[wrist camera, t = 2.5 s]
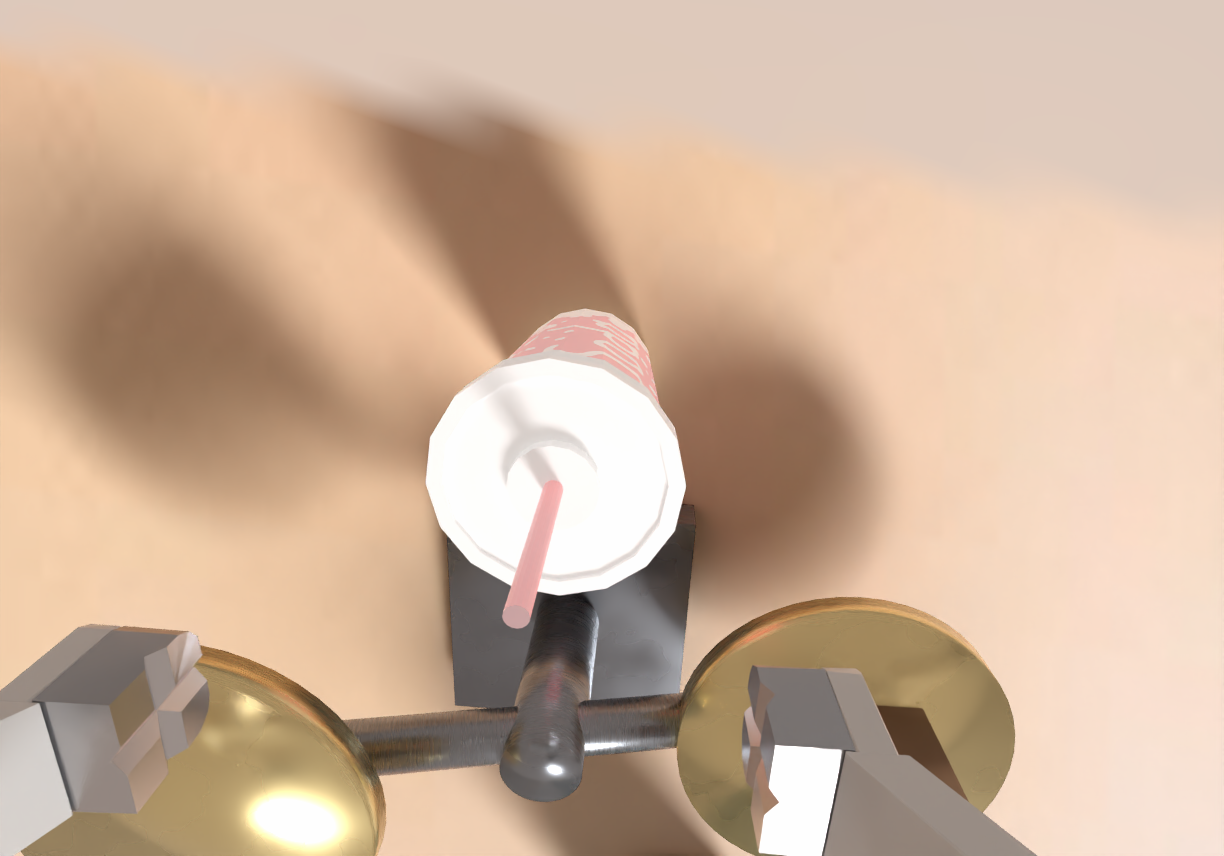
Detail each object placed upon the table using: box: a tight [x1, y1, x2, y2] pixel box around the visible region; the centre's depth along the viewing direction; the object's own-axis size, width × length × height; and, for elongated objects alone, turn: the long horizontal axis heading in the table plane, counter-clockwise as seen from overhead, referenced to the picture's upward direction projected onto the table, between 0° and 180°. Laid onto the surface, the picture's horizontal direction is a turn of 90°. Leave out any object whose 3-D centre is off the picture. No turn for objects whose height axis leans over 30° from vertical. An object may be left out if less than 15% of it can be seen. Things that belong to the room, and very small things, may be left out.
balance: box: [21, 505, 1015, 856], centre depth 23 cm, size 28×10×11 cm, turn 88°
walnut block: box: [778, 705, 969, 856], centre depth 19 cm, size 4×4×4 cm
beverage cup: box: [426, 309, 686, 629], centre depth 18 cm, size 6×6×14 cm
